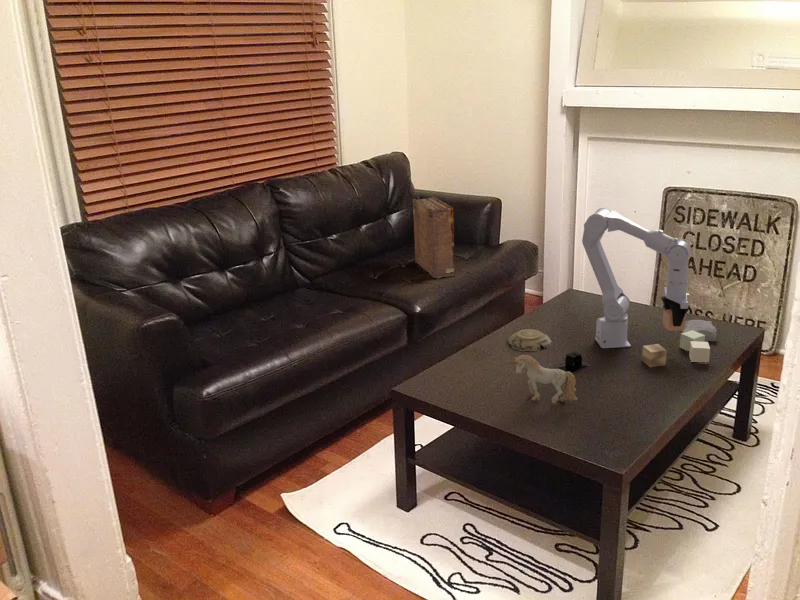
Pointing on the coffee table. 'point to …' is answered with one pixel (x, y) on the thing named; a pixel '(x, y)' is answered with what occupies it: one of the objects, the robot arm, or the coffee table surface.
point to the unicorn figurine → (546, 378)
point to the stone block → (702, 328)
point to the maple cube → (654, 355)
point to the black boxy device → (573, 362)
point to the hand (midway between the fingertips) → (673, 322)
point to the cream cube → (699, 351)
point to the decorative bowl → (529, 340)
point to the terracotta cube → (671, 321)
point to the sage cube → (690, 339)
